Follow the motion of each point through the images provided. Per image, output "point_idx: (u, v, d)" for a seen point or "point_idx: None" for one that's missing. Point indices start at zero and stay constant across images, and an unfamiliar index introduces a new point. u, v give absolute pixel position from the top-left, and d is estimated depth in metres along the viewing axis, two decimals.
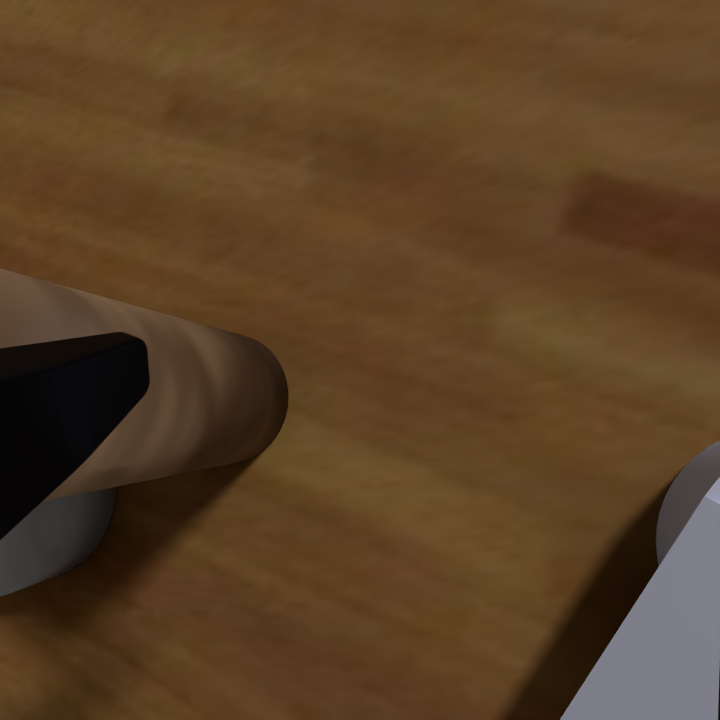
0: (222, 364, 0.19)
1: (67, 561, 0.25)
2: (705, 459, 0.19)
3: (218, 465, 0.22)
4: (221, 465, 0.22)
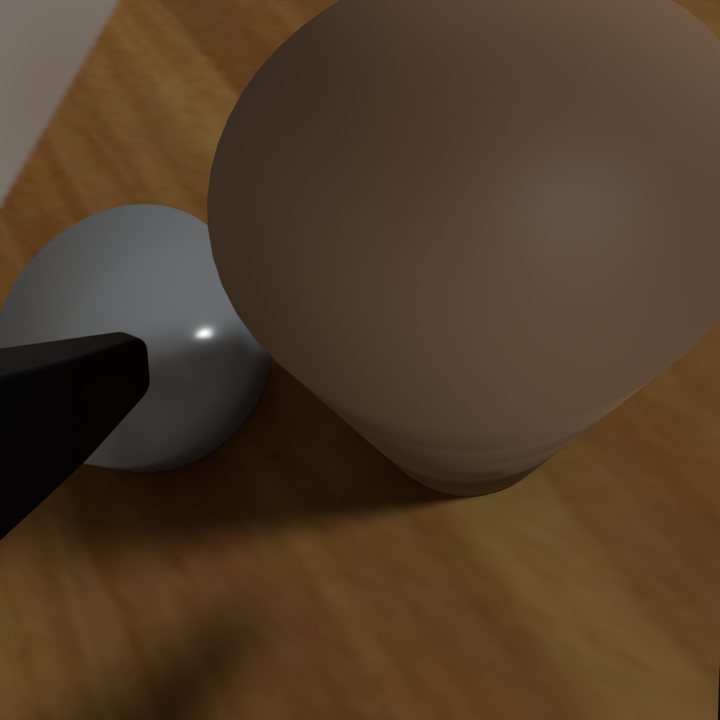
0: None
1: (146, 465, 0.17)
2: None
3: (441, 488, 0.14)
4: (435, 487, 0.15)
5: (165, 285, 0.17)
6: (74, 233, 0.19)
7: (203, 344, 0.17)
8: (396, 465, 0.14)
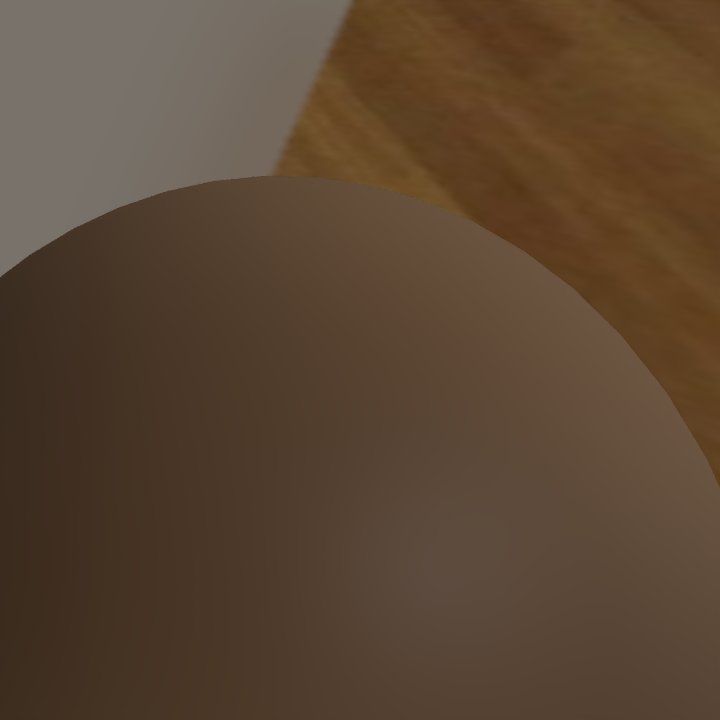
0: None
1: None
2: None
3: None
4: None
5: None
6: None
7: None
8: None
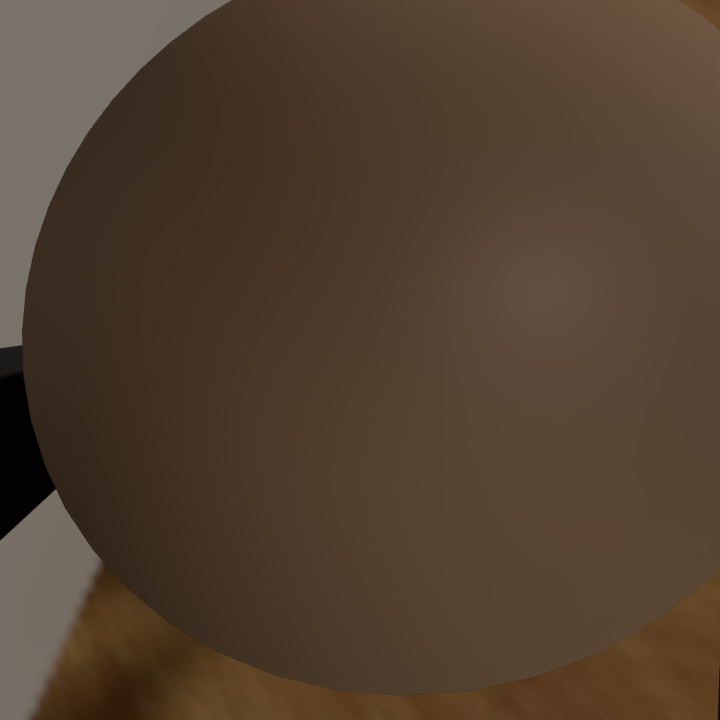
0: None
1: None
2: None
3: None
4: None
5: None
6: None
7: None
8: None
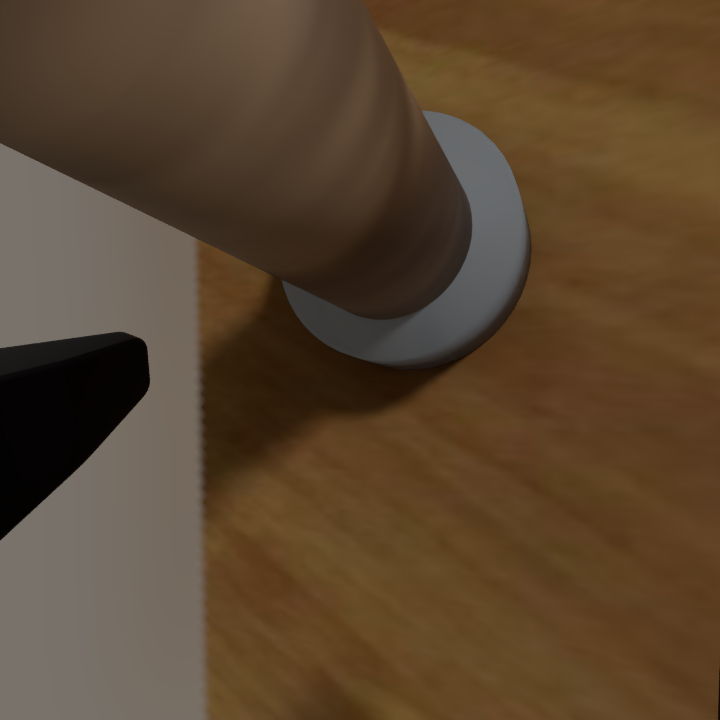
0: (421, 118, 0.13)
1: (475, 336, 0.18)
2: None
3: (374, 299, 0.16)
4: (375, 305, 0.16)
5: None
6: None
7: (484, 201, 0.17)
8: (323, 296, 0.15)
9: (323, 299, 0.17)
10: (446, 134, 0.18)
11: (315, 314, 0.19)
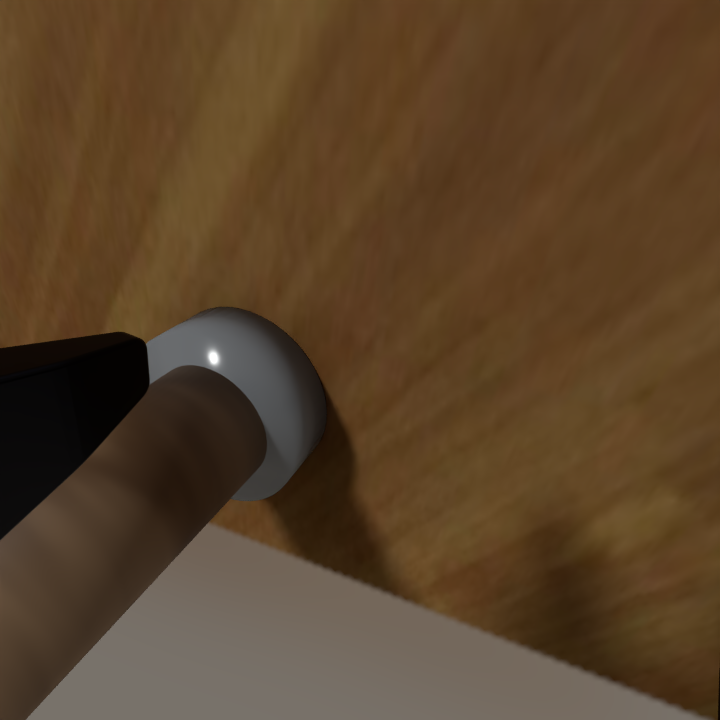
0: None
1: (296, 382, 0.23)
2: None
3: (230, 471, 0.21)
4: (239, 466, 0.22)
5: None
6: None
7: (194, 356, 0.23)
8: (218, 506, 0.21)
9: (228, 499, 0.22)
10: (149, 362, 0.24)
11: (258, 487, 0.25)
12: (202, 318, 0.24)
